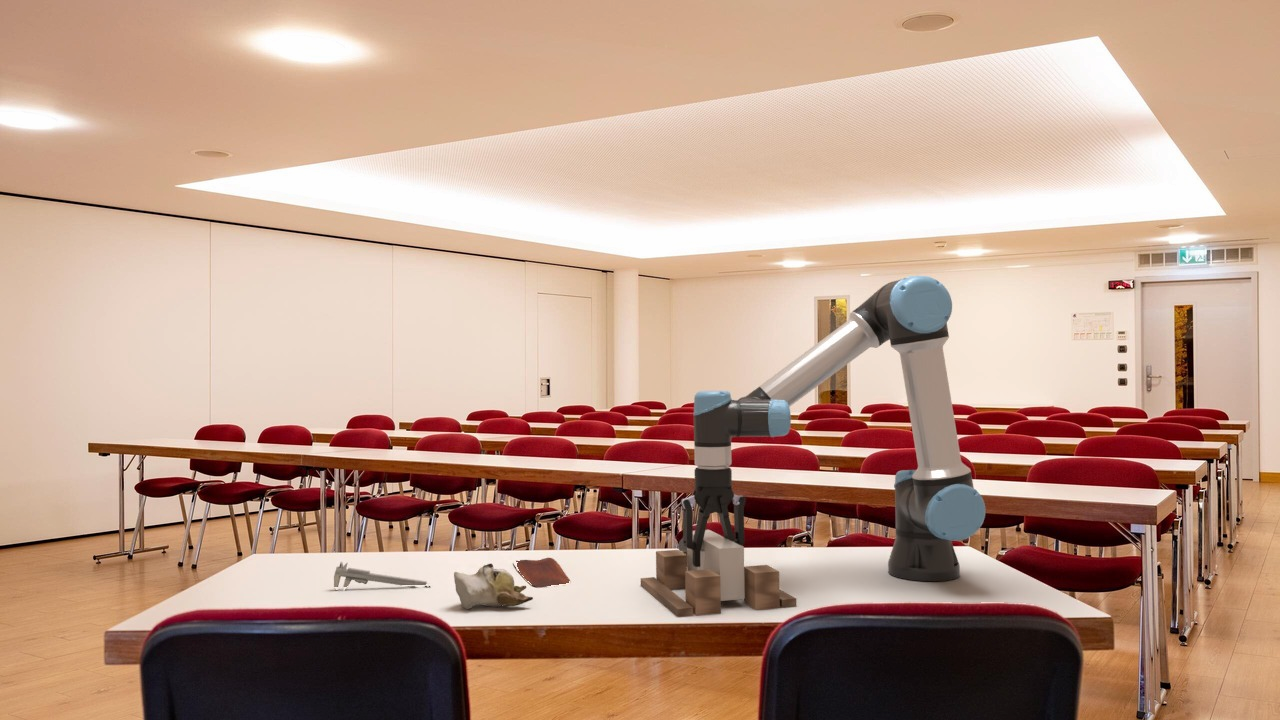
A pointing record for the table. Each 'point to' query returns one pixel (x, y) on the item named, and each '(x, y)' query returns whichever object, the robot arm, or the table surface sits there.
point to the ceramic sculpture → (489, 588)
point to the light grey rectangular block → (723, 563)
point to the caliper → (369, 577)
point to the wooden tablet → (542, 572)
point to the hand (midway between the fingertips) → (714, 581)
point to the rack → (710, 586)
